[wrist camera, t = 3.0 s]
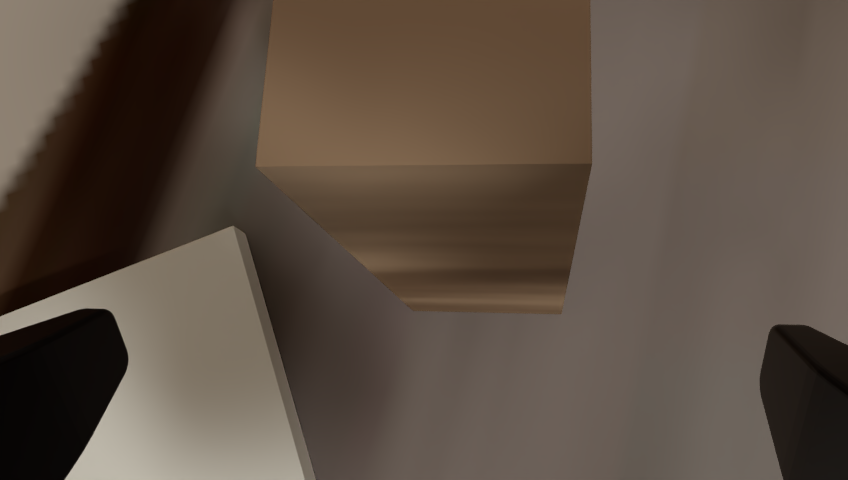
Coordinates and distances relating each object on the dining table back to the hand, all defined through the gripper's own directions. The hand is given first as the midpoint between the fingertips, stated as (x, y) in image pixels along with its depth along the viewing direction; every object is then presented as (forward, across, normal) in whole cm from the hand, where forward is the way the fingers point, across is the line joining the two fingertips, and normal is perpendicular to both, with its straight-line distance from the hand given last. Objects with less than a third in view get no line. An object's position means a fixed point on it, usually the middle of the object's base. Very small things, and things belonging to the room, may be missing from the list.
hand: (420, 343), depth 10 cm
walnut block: (+12, 0, -6) cm, 13 cm away
